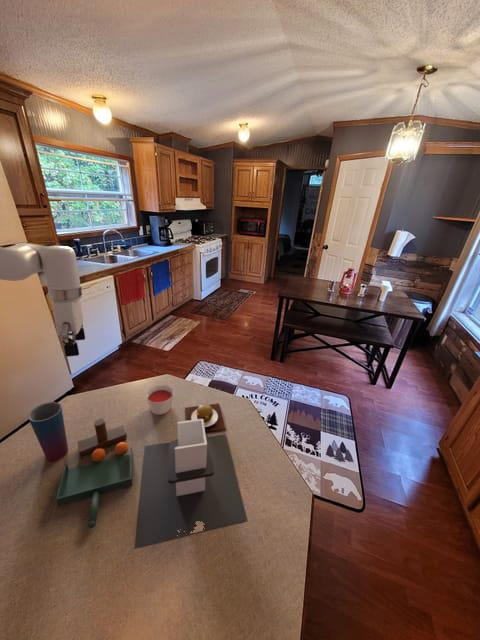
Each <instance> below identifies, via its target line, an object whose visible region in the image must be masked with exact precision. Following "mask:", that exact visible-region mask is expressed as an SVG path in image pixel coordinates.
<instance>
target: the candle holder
mask: <svg viewBox="0 0 480 640" xmlns="http://www.w3.org/2000/svg"><path fill="white" fill-rule="evenodd" d="M143 451H144V452H143V460H142V468H141V469H142V470H141V480H140V488H139V489H140V490H139V500H138V509H137V518H136V519H137V520H136V527H135V528H136V529H135V538H134V549H138V548H141V547H146V546H150V545H154V544H159V543H162V542H166V541H170V540H174V539H178V538H182V537H187V536H191V535H192V534H190V532H191V531H192V532H193V530H195V529H194V527H196V526H197V525H196V524H195V523H196V521H200V522H201V521H202V522H203V523H204V524H205V525H203V526H204V528H205V529H204V528H203V530H204V531H203V532H207V531H211V530H215V529H220V528H225V527H228V526H232V525H235V524H239V523H244V522H247V521H248V517H247V514H246V513H247V512H246V510H245V505H244V501H243V497H242V494H241V490H240V487H239V486H240V485H239V481H238V478H237V473H236V469H235V465H234V461H233V457H232V453H231V449H230V445H229V441H228V437H227V434H226V433H223V434H218V435H209V436H208V435H207V434H206V433H205V428H204V422H203V419H197V420H189V421H186V420H182V421H177V438H176V439H174V440H171V441H170V442H163V443H156V444H150V445H144V449H143ZM180 529H181V530H180ZM177 530H179V531H180V533H179V532H178V531H177ZM184 531H185V532H184ZM186 534H187V535H186ZM177 535H178V536H179V537H178V536H177ZM177 537H178V538H177Z"/></svg>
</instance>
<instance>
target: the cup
mask: <svg viewBox="0 0 480 640" xmlns="http://www.w3.org/2000/svg"><path fill="white" fill-rule="evenodd" d="M63 413H64V412H63V407H62V405H61V403H60V402H56V401H49V402H44V403H41V404H40V405H37V406H36V407H34V408H33V409H32V410H30V411H29V413H28V414H27V415H28V416H27V418H28V421H29V423H30V425H31V428H32V430H33V432H34V434H35V437H36V438H37V441H38V443H39V445H40V448H41V450H42V452H43V454H44V457H45V459H46V460H47V461H49V462H56V461H59V460H61V459H62V458H64V457H65V456H66V455H67V453H68V451H69V446H68V439H67V433H66V432H67V431H66V426H65V420H64V415H63Z"/></svg>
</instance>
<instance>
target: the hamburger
mask: <svg viewBox="0 0 480 640" xmlns="http://www.w3.org/2000/svg"><path fill="white" fill-rule="evenodd" d="M184 410H185V419H186V420H185V421H189V420H197V419H203V422H204V428H205V434H209V433H215V432H222V431H226V430H227V429H226V425H225V420H224V418H223V413H222V410H221V406H220V403H211V404H208V403H201V404H200V405H195V406H188V407H187V406H186V407H184Z"/></svg>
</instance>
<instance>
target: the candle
mask: <svg viewBox="0 0 480 640" xmlns="http://www.w3.org/2000/svg"><path fill="white" fill-rule="evenodd" d="M174 394H175V391H174V389H173V387H172V386H169V385H166V384H160V385H155V386H153V387H150V388H149V389H148V390H147V392H146V393H145V397H146V401H147V404H148V407H149V409H150V411H151V413H152V414H154V415H157V416H158V415H160V416H161V415H165V414H167V413H169V411H170V410H171V408H172V404H173V400H174Z"/></svg>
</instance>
